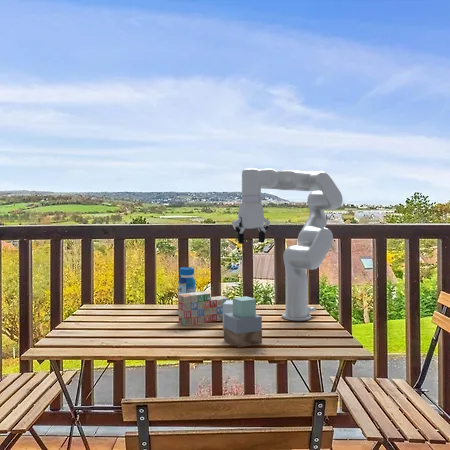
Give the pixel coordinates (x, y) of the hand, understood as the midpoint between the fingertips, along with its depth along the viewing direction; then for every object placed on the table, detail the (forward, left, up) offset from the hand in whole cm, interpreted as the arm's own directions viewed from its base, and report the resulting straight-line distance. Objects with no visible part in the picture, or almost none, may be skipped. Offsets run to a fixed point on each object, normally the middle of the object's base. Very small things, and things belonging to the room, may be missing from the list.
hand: (251, 242), depth 183 cm
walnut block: (+13, +14, -35) cm, 39 cm away
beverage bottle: (+10, -40, -34) cm, 54 cm away
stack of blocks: (+11, -20, -35) cm, 41 cm away
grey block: (+13, +14, -30) cm, 35 cm away
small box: (+7, -4, -34) cm, 35 cm away
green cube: (+12, +14, -25) cm, 31 cm away
